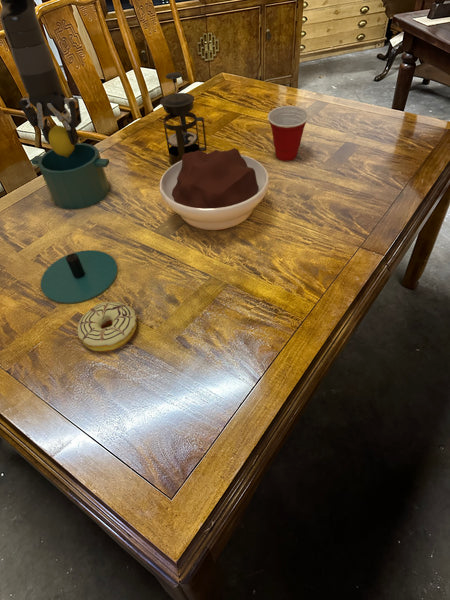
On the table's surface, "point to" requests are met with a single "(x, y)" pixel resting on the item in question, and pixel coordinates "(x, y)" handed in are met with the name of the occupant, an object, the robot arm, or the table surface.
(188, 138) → the french press
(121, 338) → the decorated donut
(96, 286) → the lid
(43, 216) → the table surface
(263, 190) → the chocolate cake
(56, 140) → the lemon
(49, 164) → the pot
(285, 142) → the plastic cup
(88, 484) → the table surface
